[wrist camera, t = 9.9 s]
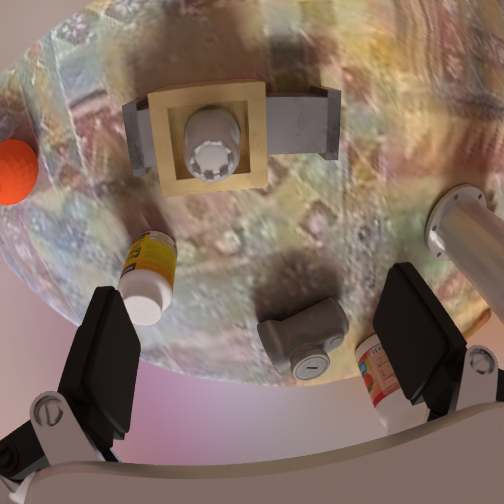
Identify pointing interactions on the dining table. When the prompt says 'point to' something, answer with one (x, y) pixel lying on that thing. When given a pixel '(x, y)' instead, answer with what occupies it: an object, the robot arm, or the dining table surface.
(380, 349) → the fruit juice
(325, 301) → the pipe fitting
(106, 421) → the robot arm
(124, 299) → the supplement bottle
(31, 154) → the clementine
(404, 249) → the dining table surface
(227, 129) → the rook chess piece
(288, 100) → the valve body
